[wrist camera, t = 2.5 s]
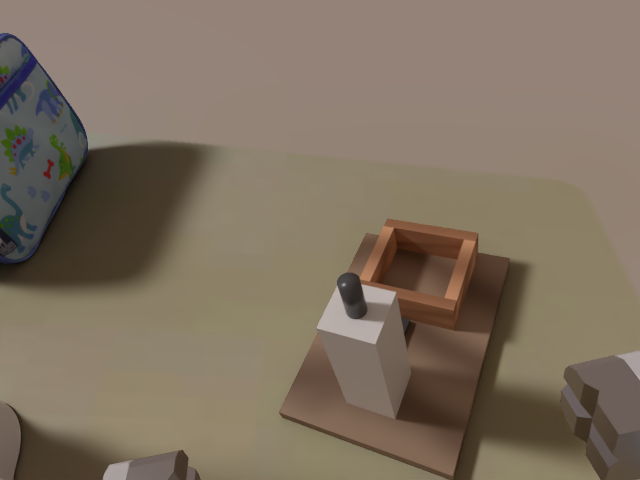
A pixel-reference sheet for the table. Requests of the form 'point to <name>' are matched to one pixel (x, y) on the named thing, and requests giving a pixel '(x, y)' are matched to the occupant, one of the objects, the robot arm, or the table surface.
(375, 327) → the connector plug
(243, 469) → the table surface
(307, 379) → the board
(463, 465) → the table surface
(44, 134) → the lunch box
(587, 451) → the robot arm
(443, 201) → the table surface
